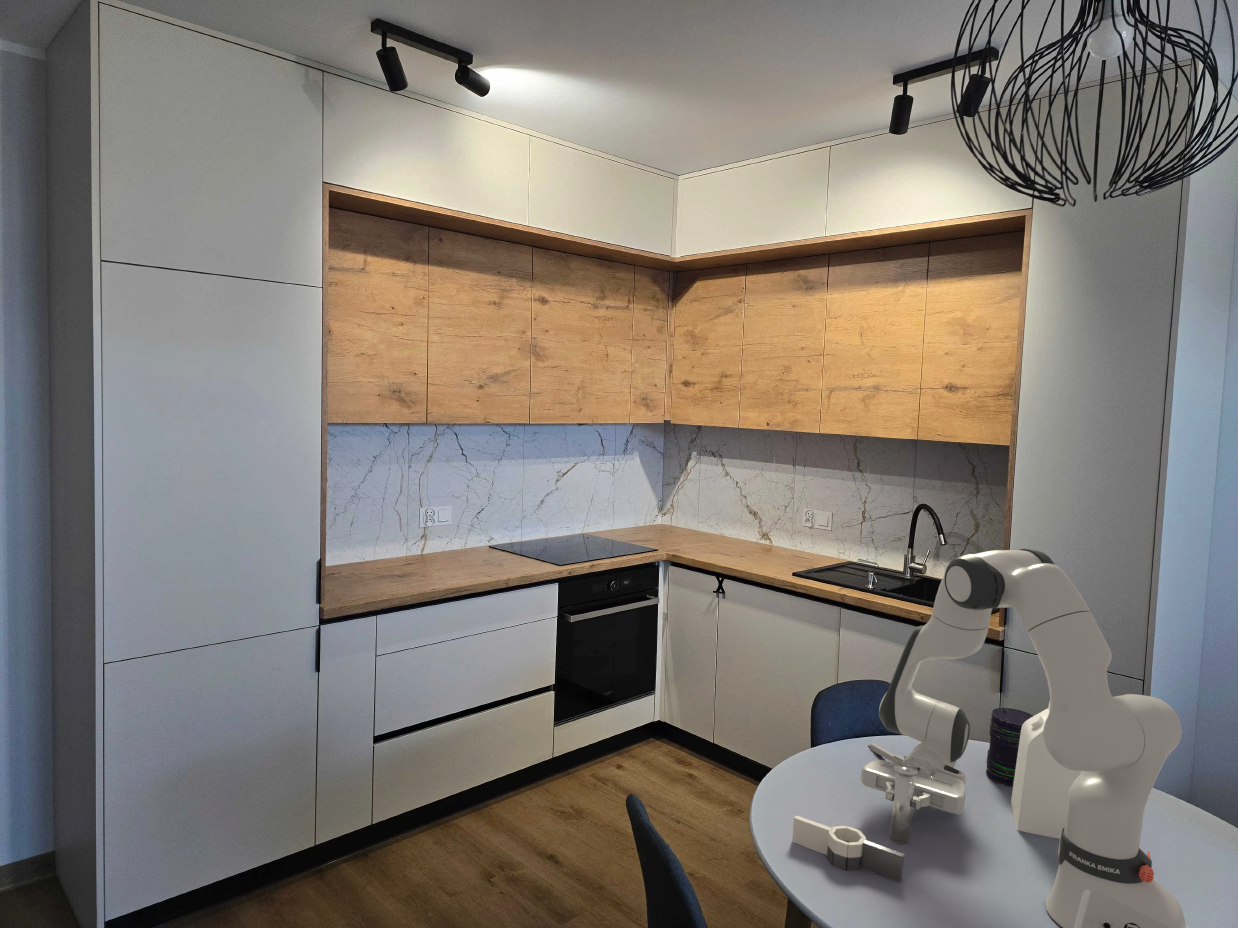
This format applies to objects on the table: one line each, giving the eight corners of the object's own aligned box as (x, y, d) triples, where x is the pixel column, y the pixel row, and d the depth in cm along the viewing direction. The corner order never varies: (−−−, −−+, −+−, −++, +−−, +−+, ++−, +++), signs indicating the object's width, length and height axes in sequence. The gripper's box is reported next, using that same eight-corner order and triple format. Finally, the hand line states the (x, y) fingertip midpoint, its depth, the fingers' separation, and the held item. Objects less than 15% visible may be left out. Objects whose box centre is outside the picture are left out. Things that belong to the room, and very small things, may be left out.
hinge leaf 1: (867, 858, 160) (869, 833, 160) (856, 874, 155) (858, 848, 154) (799, 833, 168) (801, 809, 167) (786, 847, 163) (788, 822, 162)
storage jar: (1041, 784, 194) (1048, 722, 192) (1009, 790, 190) (1015, 727, 188) (1007, 765, 203) (1013, 705, 201) (975, 770, 199) (981, 709, 198)
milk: (1079, 842, 169) (1093, 718, 167) (1017, 830, 173) (1029, 708, 170) (1069, 814, 181) (1081, 697, 178) (1010, 803, 184) (1022, 688, 182)
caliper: (912, 786, 191) (914, 759, 190) (907, 786, 190) (910, 760, 190) (871, 746, 211) (873, 722, 210) (867, 746, 210) (869, 722, 210)
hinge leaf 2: (906, 872, 156) (908, 847, 155) (895, 889, 151) (898, 863, 150) (835, 846, 164) (837, 822, 163) (822, 861, 159) (824, 836, 158)
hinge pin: (914, 838, 168) (920, 766, 166) (907, 848, 164) (914, 775, 163) (891, 831, 170) (898, 760, 169) (885, 840, 167) (891, 768, 165)
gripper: (873, 746, 183) (851, 769, 171) (973, 775, 171) (956, 801, 160) (871, 774, 183) (849, 798, 172) (970, 805, 172) (953, 833, 160)
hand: (901, 800), depth 166 cm, fingers closed on hinge pin, 4 cm apart
